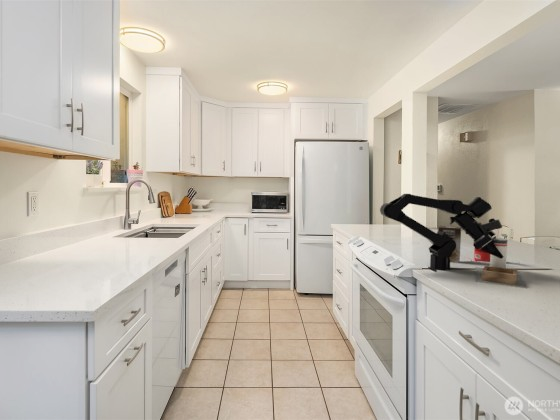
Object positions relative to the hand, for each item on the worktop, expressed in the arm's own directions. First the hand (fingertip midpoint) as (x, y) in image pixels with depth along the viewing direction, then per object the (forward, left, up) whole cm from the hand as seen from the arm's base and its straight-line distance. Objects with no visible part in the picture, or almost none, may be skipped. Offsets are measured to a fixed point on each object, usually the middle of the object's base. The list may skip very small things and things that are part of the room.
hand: (502, 256), depth 116 cm
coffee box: (-5, +24, -8) cm, 26 cm away
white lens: (-1, +1, -7) cm, 7 cm away
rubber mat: (-4, -3, -7) cm, 9 cm away
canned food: (+12, +23, -8) cm, 27 cm away
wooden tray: (-7, -7, -7) cm, 12 cm away
